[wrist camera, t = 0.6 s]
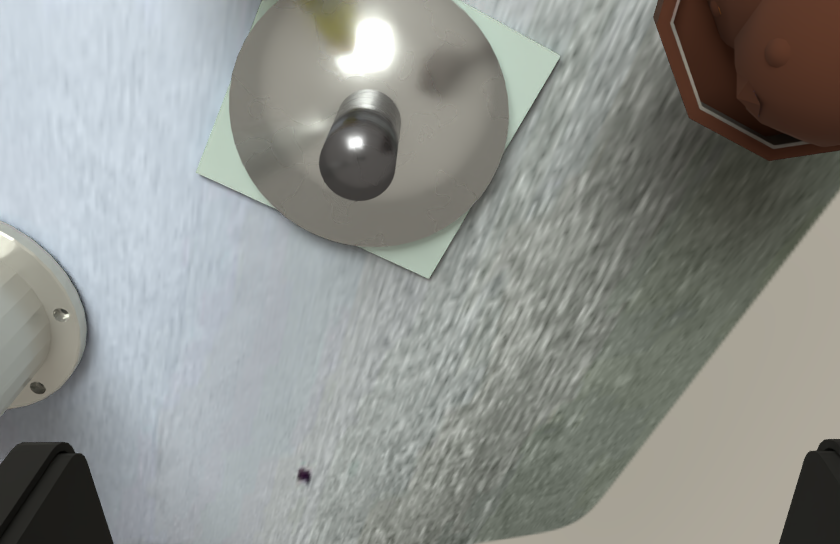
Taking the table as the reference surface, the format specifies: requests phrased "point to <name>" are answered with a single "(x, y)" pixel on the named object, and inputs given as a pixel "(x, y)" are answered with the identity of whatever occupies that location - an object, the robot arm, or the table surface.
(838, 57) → the ice cream bowl
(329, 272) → the table surface
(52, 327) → the robot arm
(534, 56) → the mat
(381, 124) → the lid
